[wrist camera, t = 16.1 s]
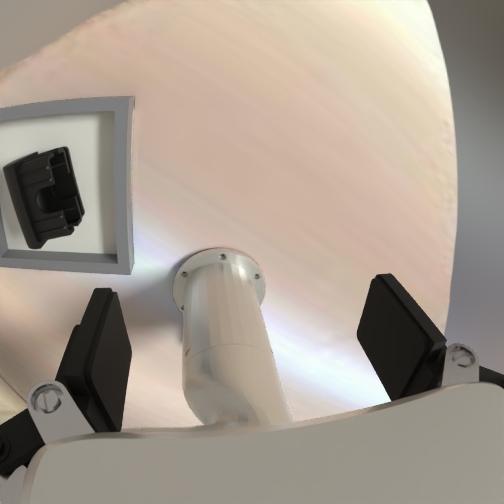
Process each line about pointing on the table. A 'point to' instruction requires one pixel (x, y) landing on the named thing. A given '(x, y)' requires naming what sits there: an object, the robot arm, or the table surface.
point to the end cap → (44, 195)
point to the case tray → (88, 180)
